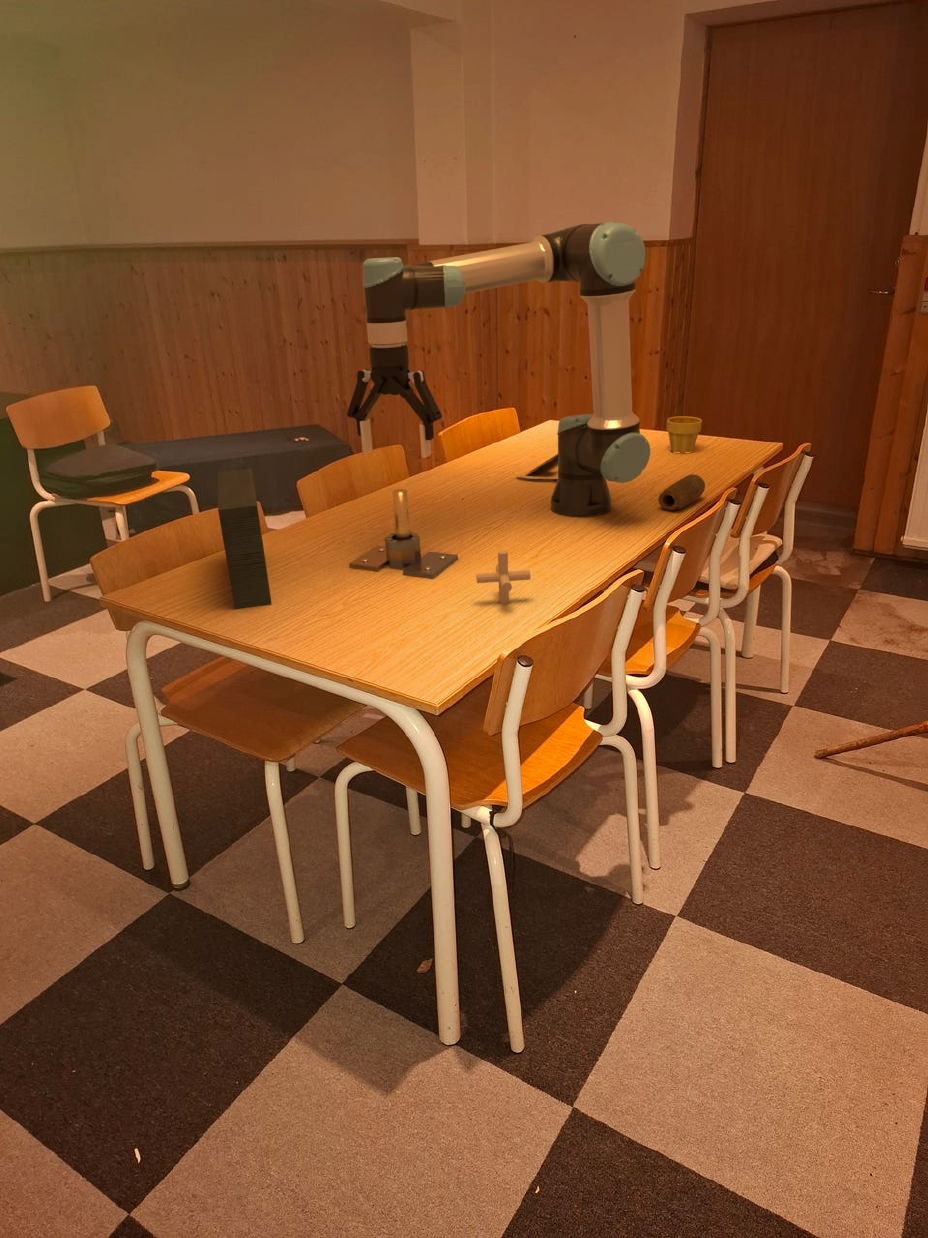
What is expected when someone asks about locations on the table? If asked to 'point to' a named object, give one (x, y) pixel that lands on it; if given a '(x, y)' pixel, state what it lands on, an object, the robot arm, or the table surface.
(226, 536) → the dark layered block
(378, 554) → the hinge
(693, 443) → the plant pot
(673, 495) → the stone weight
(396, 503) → the hinge pin
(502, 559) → the pipe connector
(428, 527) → the table surface
